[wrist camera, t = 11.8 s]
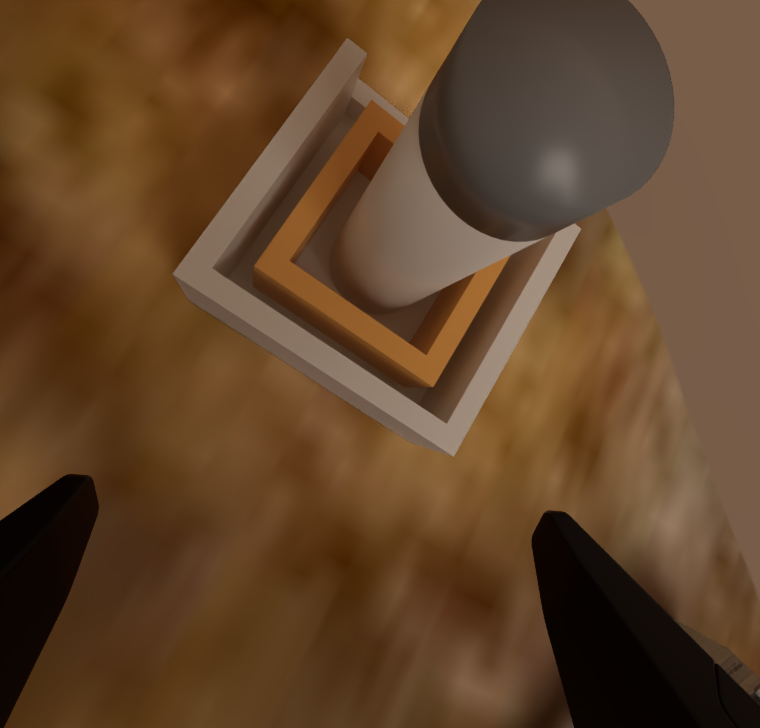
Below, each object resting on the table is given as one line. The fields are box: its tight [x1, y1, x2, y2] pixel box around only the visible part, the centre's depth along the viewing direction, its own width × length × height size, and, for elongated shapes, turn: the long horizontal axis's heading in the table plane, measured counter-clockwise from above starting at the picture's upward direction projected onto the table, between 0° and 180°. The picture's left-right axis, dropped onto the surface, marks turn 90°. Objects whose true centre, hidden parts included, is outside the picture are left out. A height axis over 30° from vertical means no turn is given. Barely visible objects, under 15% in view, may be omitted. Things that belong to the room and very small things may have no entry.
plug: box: [330, 0, 674, 315], centre depth 14 cm, size 4×4×12 cm
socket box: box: [173, 38, 581, 456], centre depth 19 cm, size 11×11×4 cm
